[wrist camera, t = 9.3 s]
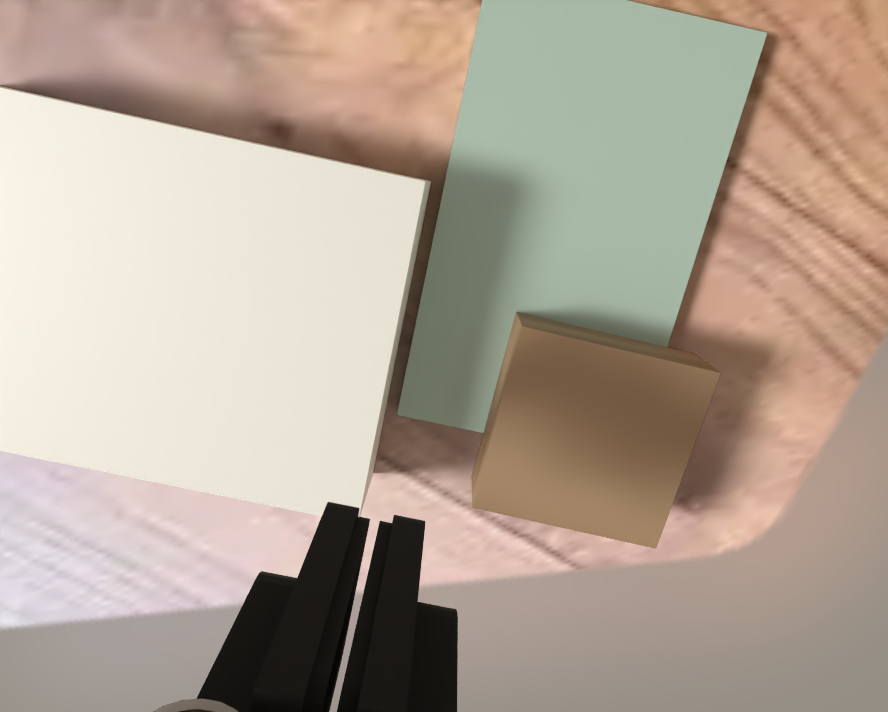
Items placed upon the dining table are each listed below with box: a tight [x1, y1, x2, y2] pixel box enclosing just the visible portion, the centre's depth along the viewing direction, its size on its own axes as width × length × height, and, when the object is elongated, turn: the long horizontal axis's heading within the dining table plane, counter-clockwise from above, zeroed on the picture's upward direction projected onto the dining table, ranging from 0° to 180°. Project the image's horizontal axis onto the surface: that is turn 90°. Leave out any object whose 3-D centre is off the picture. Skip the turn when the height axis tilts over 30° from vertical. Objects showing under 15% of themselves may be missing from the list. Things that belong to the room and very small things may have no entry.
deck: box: [0, 86, 431, 517], centre depth 23 cm, size 12×16×4 cm
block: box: [472, 312, 721, 548], centre depth 24 cm, size 7×7×2 cm
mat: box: [397, 0, 767, 433], centre depth 23 cm, size 16×10×1 cm, turn 168°
